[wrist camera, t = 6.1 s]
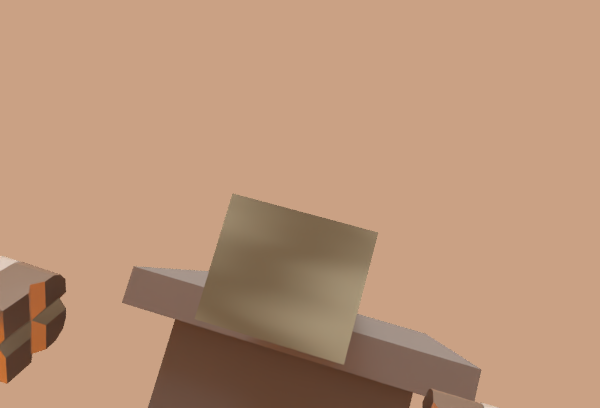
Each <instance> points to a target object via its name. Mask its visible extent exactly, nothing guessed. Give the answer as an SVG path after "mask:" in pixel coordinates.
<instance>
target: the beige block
mask: <svg viewBox="0 0 600 408" xmlns="http://www.w3.org/2000/svg"><path fill="white" fill-rule="evenodd" d="M377 235H378V233H377V232H374V231H370V230H366V229H362V228H359V227H355V226H352V225H348V224H344V223H340V222H336V221H333V220H329V219H326V218H322V217H318V216H314V215H311V214H307V213H303V212H299V211H296V210H291V209H288V208H284V207H281V206H277V205H273V204H270V203H266V202H262V201H258V200H255V199H251V198H247V197H243V196H240V195H236V194H232V197H231V200H230V204H229V207H228V211H227V214H226V217H225V220H224V224H223V227H222V230H221V234H220V237H219V240H218V243H217V247H216V250H215V253H214V256H213V260H212V263H211V266H210V270H209V273H208V276H207V280H206V283H205V286H204V289H203V293H202V296H201V299H200V303H199V306H198V309H197V312H196V316H195V319H196V320H199V321H203V322H206V323H209V324H212V325H216V326H219V327H222V328H225V329H229V330H232V331H235V332H238V333H242V334H245V335H248V336H251V337H255V338H258V339H261V340H265V341H268V342H271V343H274V344H278V345H281V346H284V347H287V348H291V349H294V350H297V351H300V352H304V353H307V354H310V355H313V356H317V357H320V358H323V359H327V360H330V361H333V362H336V363H340V364H343V365H344V362H345V358H346V354H347V351H348V347H349V343H350V339H351V335H352V331H353V327H354V324H355V320H356V316H357V312H358V308H359V304H360V300H361V297H362V293H363V289H364V285H365V281H366V277H367V274H368V270H369V266H370V262H371V258H372V254H373V250H374V247H375V243H376V239H377Z"/></svg>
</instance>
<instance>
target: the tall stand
mask: <svg viewBox="0 0 600 408" xmlns="http://www.w3.org/2000/svg"><path fill="white" fill-rule="evenodd" d="M208 273H209V271H195V270H180V269H165V268H150V267H135V266H134V267H133V270H132V273H131V276H130V280H129V283H128V286H127V289H126V292H125V295H124V298H123V301H122V303H125V304H128V305H131V306H134V307H138V308H141V309H144V310H148V311H151V312H154V313H157V314H160V315H164V316H167V317H170V318H173V319H175V322H174V325H173V329H172V332H171V335H170V339H169V342H168V345H167V348H166V351H165V355H164V358H163V361H162V364H161V368H160V371H159V374H158V377H157V380H156V383H155V387H154V390H153V393H152V396H151V400H150V403H149V406H148V408H409V406H410V402H411V398H412V393H417V394H420V395H423V396H425V395H426V393H427V392H428V390H429V389H430V388H432V389H435V390H438V391H442V392H445V393H448V394H452V395H455V396H458V397H462V398H465V399H468V400H472V401H474V400H475V395H476V391H477V386H478V382H479V378H480V373H481V369H480V368H478V367H477V366H475V365H473V364H472V363H470V362H469V361H467V360H466V359H464V358H462V357H461V356H459V355H458V354H456V353H455V352H453V351H452V350H450V349H448V348H447V347H445V346H444V345H442V344H441V343H439V342H437V341H436V340H434V339H433V338H431V337H430V336H428V335H426V334H424V333H421V332H418V331H414V330H411V329H407V328H404V327H400V326H397V325H393V324H390V323H387V322H383V321H380V320H376V319H373V318H369V317H366V316H363V315H359V314H357V316H356V320H355V324H354V327H353V331H352V335H351V339H350V343H349V347H348V351H347V354H346V358H345V362H344V365H343V364H340V363H336V362H333V361H330V360H327V359H323V358H320V357H317V356H313V355H310V354H307V353H304V352H300V351H297V350H294V349H291V348H287V347H284V346H281V345H278V344H274V343H271V342H268V341H265V340H261V339H258V338H255V337H251V336H248V335H245V334H242V333H238V332H235V331H232V330H229V329H225V328H222V327H219V326H216V325H212V324H209V323H206V322H203V321H199V320H196V319H195V316H196V312H197V309H198V306H199V303H200V299H201V296H202V293H203V289H204V286H205V283H206V280H207V276H208Z"/></svg>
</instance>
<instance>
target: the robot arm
mask: <svg viewBox="0 0 600 408" xmlns="http://www.w3.org/2000/svg"><path fill="white" fill-rule="evenodd" d="M65 292H66V287H65V278H63V277H62V276H61V275H60V274H57V273H54V272H51V271H48V270H44V269H42V268H39V267H36V266H33V265H30V264H27V263H24V262H19V261H17V260H13V259H10V258H7V257H4V256H0V382H4V383H8V382H10V381H11V380H12V379H13V378H14V377H15V376H16V375H17V374H19V373H20V372H21V371H22V370H23V369H24V368H25V367H26V366H28V365H29V364H30V363H31V359H32V354H33V353H36V352H39V351H42V350H45V349H47V348H48V347H49V346H50V345H51V344H52V343H53V342H54V341H55V340H56V339H57V337H58V336H59V334H60V332H61V331H62V329H63V326H64V322H65V318H66V308H65V306H64V305H63V303H62V301H61V300H60V297H61V296H62V295H63V294H64V293H65ZM423 408H498V407H495V406H491V405H488V404H484V403H478V402H475V401H472V400H468V399H465V398H462V397H458V396H455V395H452V394H448V393H445V392H442V391H438V390H435V389H432V388H430V389H429V390H428V392H427V393H426V395H425V398H424V400H423Z"/></svg>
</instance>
